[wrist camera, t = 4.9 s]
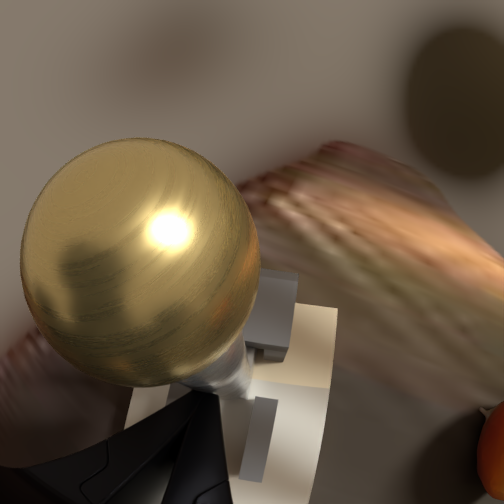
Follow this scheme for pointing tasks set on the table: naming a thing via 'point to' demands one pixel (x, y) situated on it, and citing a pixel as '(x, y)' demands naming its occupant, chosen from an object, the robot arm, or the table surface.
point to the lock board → (271, 397)
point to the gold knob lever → (144, 268)
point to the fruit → (492, 452)
